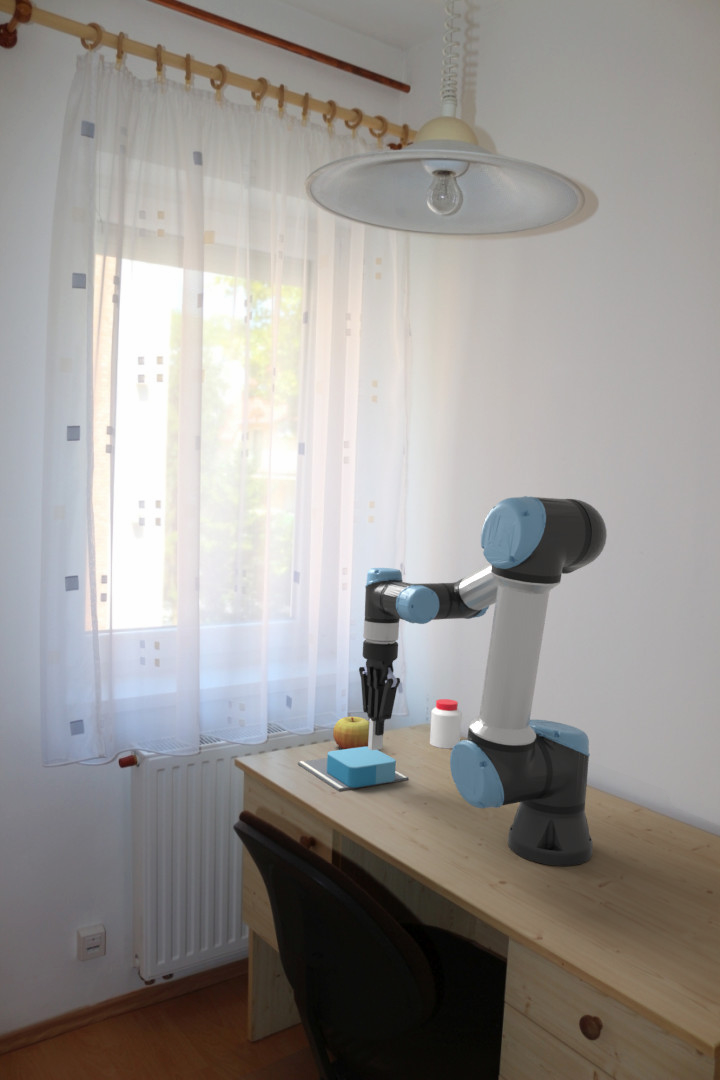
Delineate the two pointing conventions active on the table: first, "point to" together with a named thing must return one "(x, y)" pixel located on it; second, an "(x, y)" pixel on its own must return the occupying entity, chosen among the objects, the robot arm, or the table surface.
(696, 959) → the table surface
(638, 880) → the table surface
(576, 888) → the table surface
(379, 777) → the light blue flat block
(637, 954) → the table surface
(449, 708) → the pill bottle
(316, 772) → the mat
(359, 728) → the apple
